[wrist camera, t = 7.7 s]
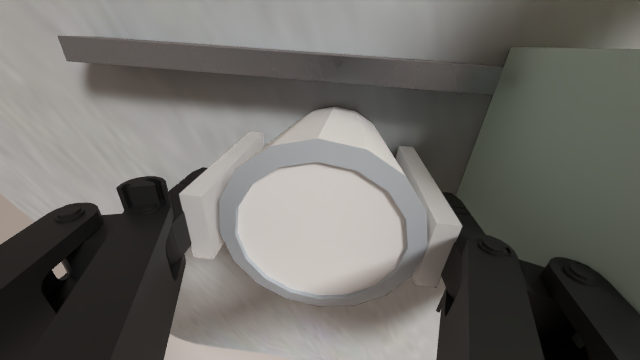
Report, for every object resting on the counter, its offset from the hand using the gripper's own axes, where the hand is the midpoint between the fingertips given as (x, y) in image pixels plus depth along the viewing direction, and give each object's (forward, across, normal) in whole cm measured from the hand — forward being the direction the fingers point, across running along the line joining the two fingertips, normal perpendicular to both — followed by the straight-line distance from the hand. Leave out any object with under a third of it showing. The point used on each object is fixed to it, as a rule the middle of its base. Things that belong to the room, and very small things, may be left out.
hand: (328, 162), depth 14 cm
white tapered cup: (+1, 0, 0) cm, 1 cm away
